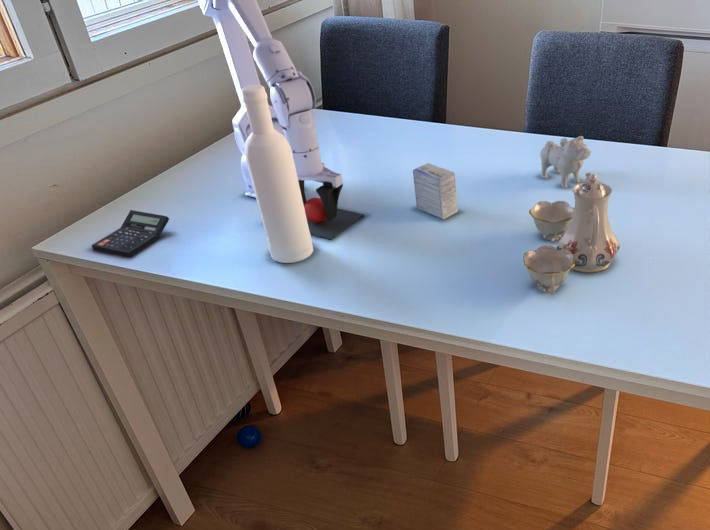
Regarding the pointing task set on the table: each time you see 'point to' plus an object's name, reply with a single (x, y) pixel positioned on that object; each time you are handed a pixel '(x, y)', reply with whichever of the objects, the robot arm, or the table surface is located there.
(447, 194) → the grey streaked block
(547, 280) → the chinaware
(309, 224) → the mat
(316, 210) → the ball
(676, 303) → the table surface
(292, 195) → the bottle
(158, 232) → the calculator
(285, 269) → the table surface
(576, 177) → the dog figurine
